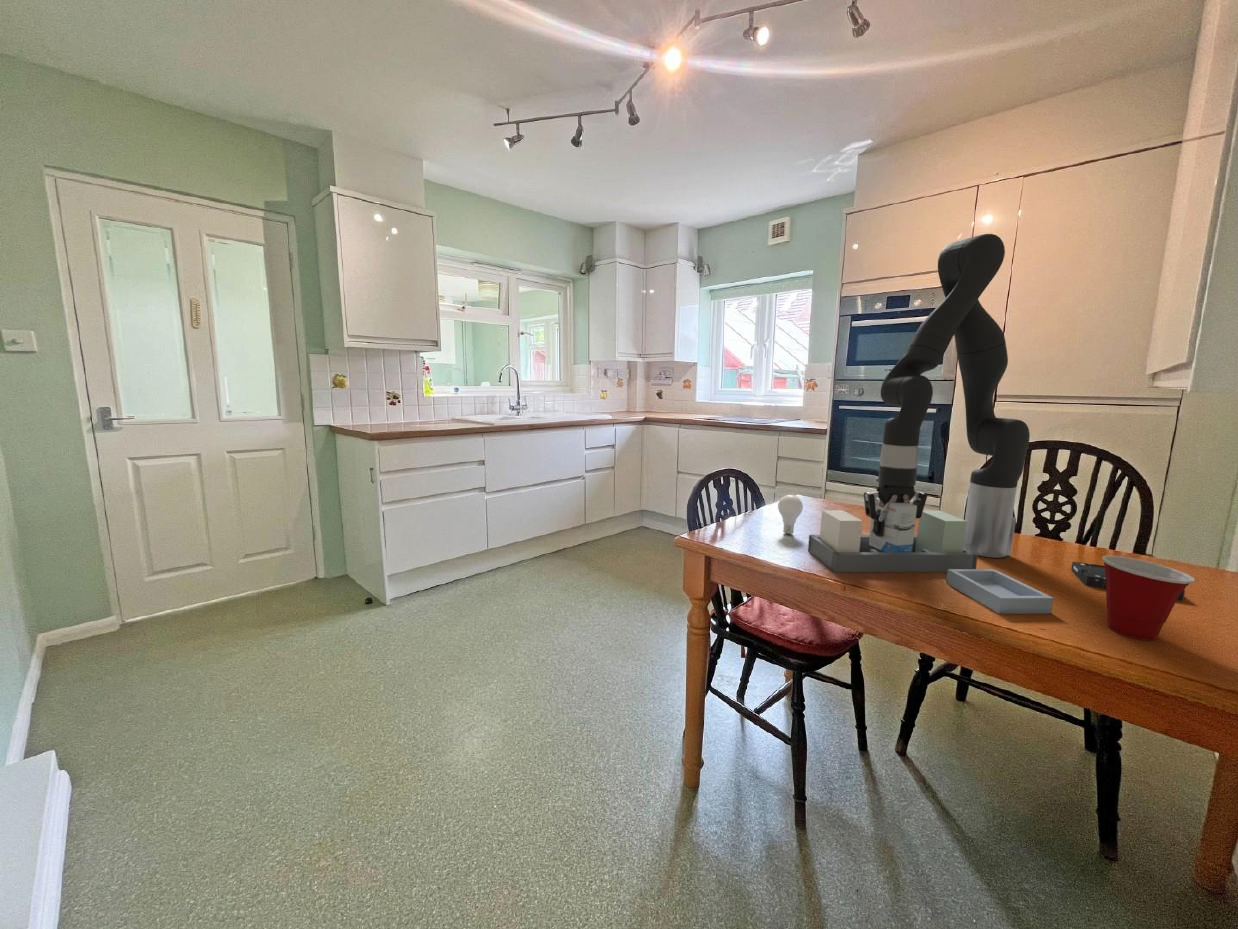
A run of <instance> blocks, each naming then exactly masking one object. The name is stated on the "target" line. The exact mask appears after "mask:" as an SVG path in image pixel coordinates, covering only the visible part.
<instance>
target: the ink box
mask: <svg viewBox="0 0 1238 929" xmlns="http://www.w3.org/2000/svg"><path fill="white" fill-rule="evenodd" d="M876 499H877V500H876V501H875V508H876V506H877V504H878V502H879V501H880V499H879V498H878V497H877V498H876ZM880 506H881V507H883V508H884V507H885V505H883V504H882V503H881V502H880ZM916 511H917V506H916V505H913V503H910V504H906V503H890V509H889V513H887V514H886V516H885V518H884V520H883V522H884V528H883V536H882V537H878V536H876V535H875V533H874V532H873V525H874V519H872V518H870V519H871V520H870V531H869V535H870V539H869V545H870V546H872V547H875V548H877V549H879V550H881V551H884V552H912V549H913V539H914V535H915V530H916V529H915V527H916V519H917V518H916Z"/></svg>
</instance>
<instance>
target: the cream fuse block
mask: <svg viewBox="0 0 1238 929" xmlns="http://www.w3.org/2000/svg"><path fill="white" fill-rule="evenodd" d="M820 521H821V522H820V531H819V532H820V533H819V535H820V540H821V541H822V542H824V543H825V544H827V545H828V546H829V547H831V548H832V549H833V550H835V551H836V552H859V549H860V539H861V535H862V529H863V528H862V527H863V520H862V519H859V518H858V517H856V516H854V515H853V514H850V513H848V512H846V511H845V510H843V509H841V510H840V509H836V510H835V509H832V510H831V509H830V510H829V509H822V511H821V519H820Z"/></svg>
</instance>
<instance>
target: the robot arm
mask: <svg viewBox="0 0 1238 929" xmlns="http://www.w3.org/2000/svg"><path fill="white" fill-rule="evenodd" d="M1005 249H1006V248H1005V244H1004V242H1003V240H1002V239H1001V237H1000V236H998V235H997V234H994V233H985V234H980V235H975V236H972V237H968V238H964V239H961V240H957V241H955V242H951V243H949V244H946V246H944V247H943V248H942V250H941V252H940V253H939V255H938V260H937V273H938V278H939V281H940V286H941V288H942V292H943V295H944V299H943V301H942V302H941V303H940V304H939V305H937V306H936V308H935V309H934V310H933V311H932V312H931V313H930V314H929V315H927V317H926V318H924V320H923V321H922V323H921V324H920V325H919V327H918V328H917V330H916V331H915V334H914V335H913V336H912V337H913V338H912V340H911V342H910V343H909V345H908V347H907V350H906V352H905V353H904V354H903V356H902V357H901V358H900V359H899V360H898V361H897V362H896V363H895V365H894V366H893V367H892V369H891V370H889V373H887V375H886V376H885V377H884V379H883V382H881V383H882V384H881V387H880V398H881V401H882V402H883V403H884V404H886V405H887V406H891V407H900V409H899V410H900V411H898V413H897V416H895V417H891V418H888V419H887V420H886V421H885V423H884V430H883V437H882V438H883V439H882V446H881V451H880V456H879V457H880V459H879V468H878V477H877V478H878V479H877V480H878V487H877V488H876V489H875V490H876V491H870V492H869V491H864V492H863V500H864V501H863V503H864V512H865V515H866V516H867V517H868V518H870V519H871V518H872V519H874V525H873V532H874V533H875V535H876V536H878V537H882V536H883V528H884V522H883V520H884V518H885V516H886V514H887V513H889V509H890V503H906V504H911V502H910V501H912V499H913V501H912V504H913V505H916V506H917V511H916V519H919V518H921V515H922V512H923V511H924V508H925V505H926V502H927V499H928V493H924V492H923V491H919V490H918V491H916V490H915V486H916V484H917V483H916V482H917V473H918V463H919V442H920V433H921V432H920V431H921V426H922V424H923V421H924V420H925V417H926V415H927V412H928V410H929V408H930V405H931V403H932V399H933V396H934V394H933V392H934V391H933V390H934V389H933V386H932V385H933V384H932V382H931V381H930V379H929V378H928V377H926V376H925V375H922V374H924V373H926V372H929V371H932V370H934V369H936V368H937V367H938V366H939V364H940V363H941V361H942V359H943V357H944V355H945V353H946V351H947V349H948V347H949V345H950V343H951V341H952V339H953V337H954V340H955V341H954V343H955V350H956V357H957V361H958V366H959V367H958V368H959V372H960V376H961V381H962V391H963V397H964V407H965V427H966V437H967V443H968V445H969V448H971V450H972V451H973V452H975V453H976V454H981V455H983V456H984V455H986V456H990V457H992V460H991V463H990V465H988V466H987V467H984V468H983V467H982V468H979V469H974V470H972V472H971V474H970V477H969V478H970V480H969V486H968V495H967V502H966V508H965V509H966V510H965V514H964V515H965V516H964V520H965V521H967V527H966V534H965V541H964V549H967V550H969V551H971V552H973V553H975V554H977V555H978V557H979V556H980V557H987V558H996V559H999V558H1002V559H1003V558H1005V557H1009V556H1011V555H1012V554H1011V553H1012V547H1013V543H1014V535H1015V527H1016V522H1017V518H1016V517H1015V516H1013V515H1014V508H1015V501H1016V494H1017V488H1018V482H1019V480H1020V478H1021V476H1022V474H1023V471H1024V467H1025V463H1026V458H1027V454H1028V449H1029V443H1030V429H1029V426H1028V425H1027V423H1026V422H1025V421H1023V420H1021V419H1015V418H1007V417H1006V418H1005V417H1004V418H1002V417H996V415H995V414H996V413H995V410H994V393H995V391H996V388H997V387H998V386H999V384H1000V382H1001V380H1002V378H1003V376H1004V374H1005V372H1006V370H1007V368H1008V363H1009V356H1008V350H1007V343H1006V337H1005V334H1004V331H1003V329H1002V328H1001V326H999V324H998V322H997V321H996V320H995V319H994V318H993V317H992V316H991V314H989V313H988V311H987V310H986V309H985V308H984V307H983V305H982V304H981V302H980V300H979V299H980V296H981V295H982V294H983V293H984V291H985V290H986V289H987V287H988V286H989V285H990V283H991V282H992V280H993V279H994V277H995V276H996V275H997V273H998V272H999V270H1000V268H1001V267H1002V265H1003V262H1004V259H1005V255H1006V250H1005ZM876 498H879V499H880V501H879V502H878V504H877V506H876V508H875V501H876V500H877V499H876ZM880 502H881V503H882V504H883V505H885V507H884V508H883V507H881V506H880Z"/></svg>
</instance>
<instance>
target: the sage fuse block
mask: <svg viewBox="0 0 1238 929" xmlns="http://www.w3.org/2000/svg"><path fill="white" fill-rule="evenodd" d="M917 525H918V526H917V532H916V535H917V539H916V547H915V552H921V550H922V549H926V550H928V551H930V552H963V548H964V541H965V534H966V527H967V521H965V519H963V518H960V517H958V516H955V515H952V514H950V513H948V512H945V511H942V510H923V512H922V515H921V518H918V523H917Z"/></svg>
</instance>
